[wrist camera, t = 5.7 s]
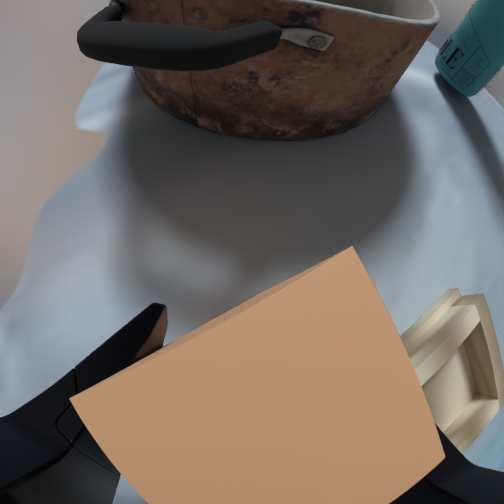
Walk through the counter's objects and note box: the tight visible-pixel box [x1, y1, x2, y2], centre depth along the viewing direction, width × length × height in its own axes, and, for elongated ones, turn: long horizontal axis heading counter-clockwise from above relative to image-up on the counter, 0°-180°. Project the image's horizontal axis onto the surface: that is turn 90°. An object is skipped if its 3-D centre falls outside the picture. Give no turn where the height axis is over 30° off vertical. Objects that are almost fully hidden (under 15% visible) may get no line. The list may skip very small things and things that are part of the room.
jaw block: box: [69, 246, 445, 504], centre depth 9 cm, size 4×4×12 cm
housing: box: [400, 288, 504, 454], centre depth 12 cm, size 14×11×4 cm
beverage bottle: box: [435, 0, 504, 97], centre depth 11 cm, size 6×7×20 cm
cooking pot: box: [77, 0, 441, 140], centre depth 14 cm, size 30×22×11 cm
